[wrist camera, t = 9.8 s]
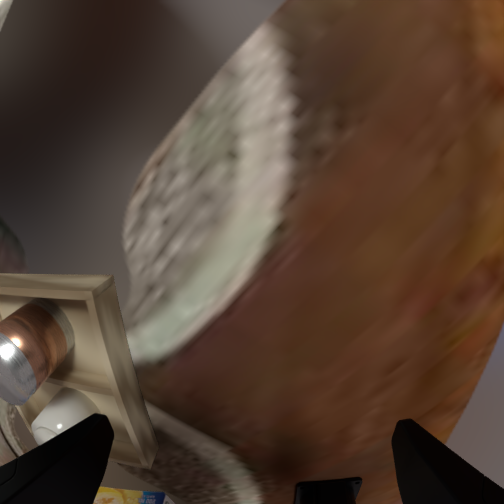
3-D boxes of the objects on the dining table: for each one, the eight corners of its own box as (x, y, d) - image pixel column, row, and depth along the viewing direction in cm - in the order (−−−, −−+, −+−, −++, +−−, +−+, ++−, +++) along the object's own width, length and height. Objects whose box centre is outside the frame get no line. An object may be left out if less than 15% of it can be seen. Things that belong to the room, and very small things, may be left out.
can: (64, 297, 20) (6, 343, 14) (83, 358, 22) (39, 413, 15) (18, 296, 21) (-37, 334, 14) (37, 352, 22) (-8, 397, 16)
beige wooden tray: (159, 446, 25) (150, 469, 22) (45, 419, 26) (32, 436, 23) (113, 274, 20) (91, 291, 17) (-10, 273, 21) (-32, 284, 18)
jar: (108, 430, 24) (84, 471, 19) (68, 420, 24) (42, 456, 19) (92, 391, 23) (61, 434, 17) (51, 382, 23) (19, 419, 18)
